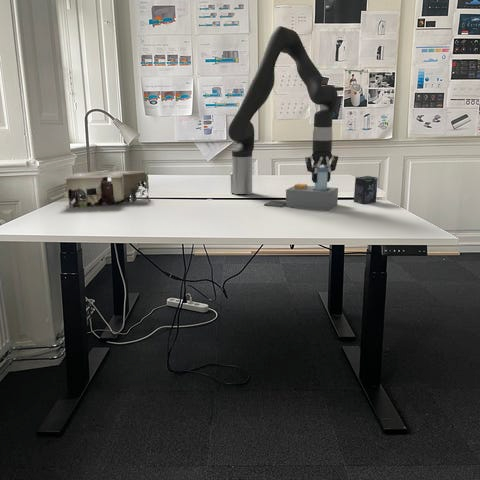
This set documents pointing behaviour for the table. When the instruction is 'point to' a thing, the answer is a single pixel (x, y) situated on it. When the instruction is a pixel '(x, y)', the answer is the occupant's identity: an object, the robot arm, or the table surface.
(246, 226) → the table surface
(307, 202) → the housing
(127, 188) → the beige boxy piece
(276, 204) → the mat
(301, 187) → the orange rectangular block
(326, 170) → the cartridge
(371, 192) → the box
